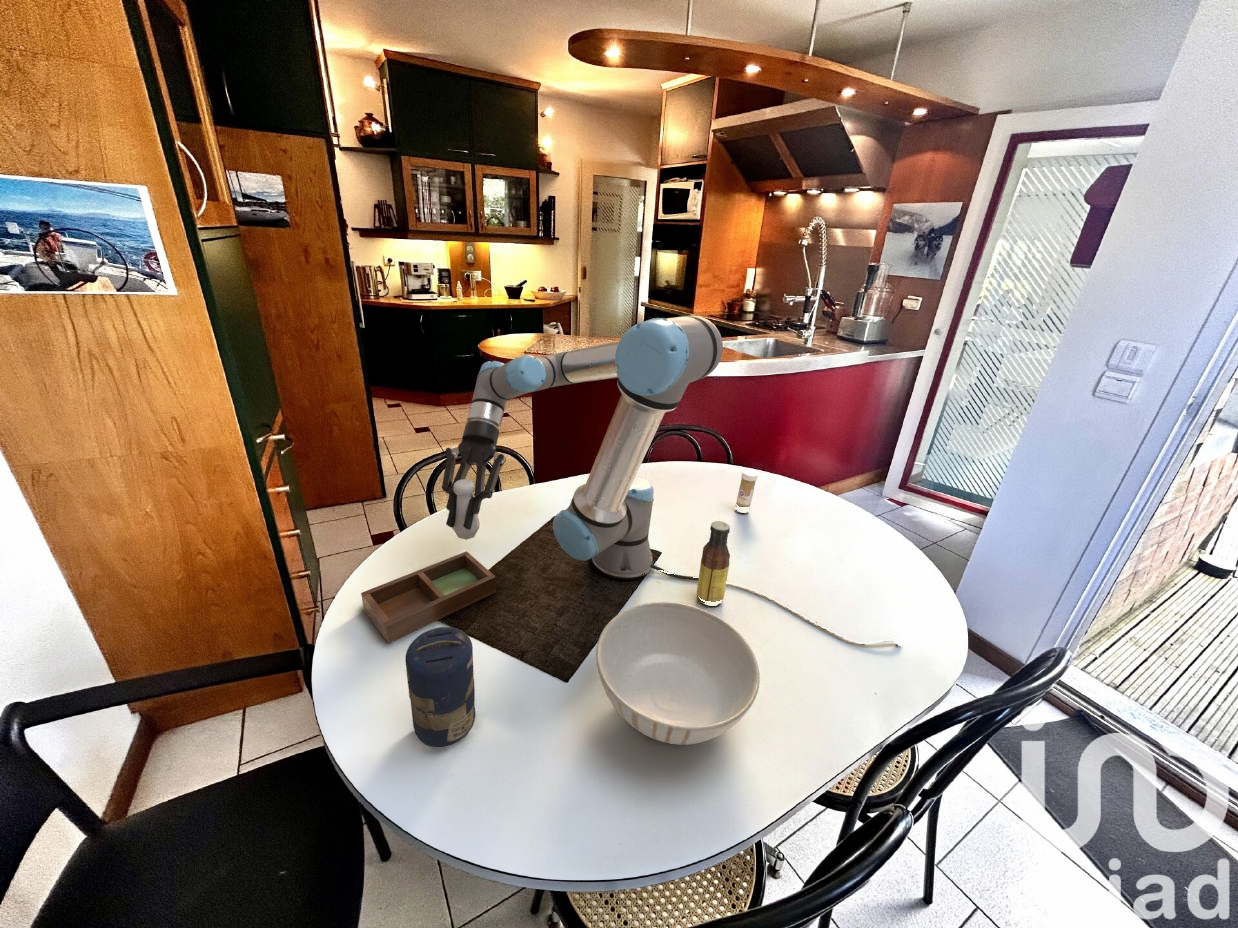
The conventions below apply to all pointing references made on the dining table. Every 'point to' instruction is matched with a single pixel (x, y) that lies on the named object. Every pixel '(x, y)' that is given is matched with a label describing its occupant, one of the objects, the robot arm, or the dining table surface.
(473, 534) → the salt shaker
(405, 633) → the wooden compartment tray
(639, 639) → the decorative bowl
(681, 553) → the dining table surface
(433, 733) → the canister
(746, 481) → the sprinkles bottle
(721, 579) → the sauce bottle
